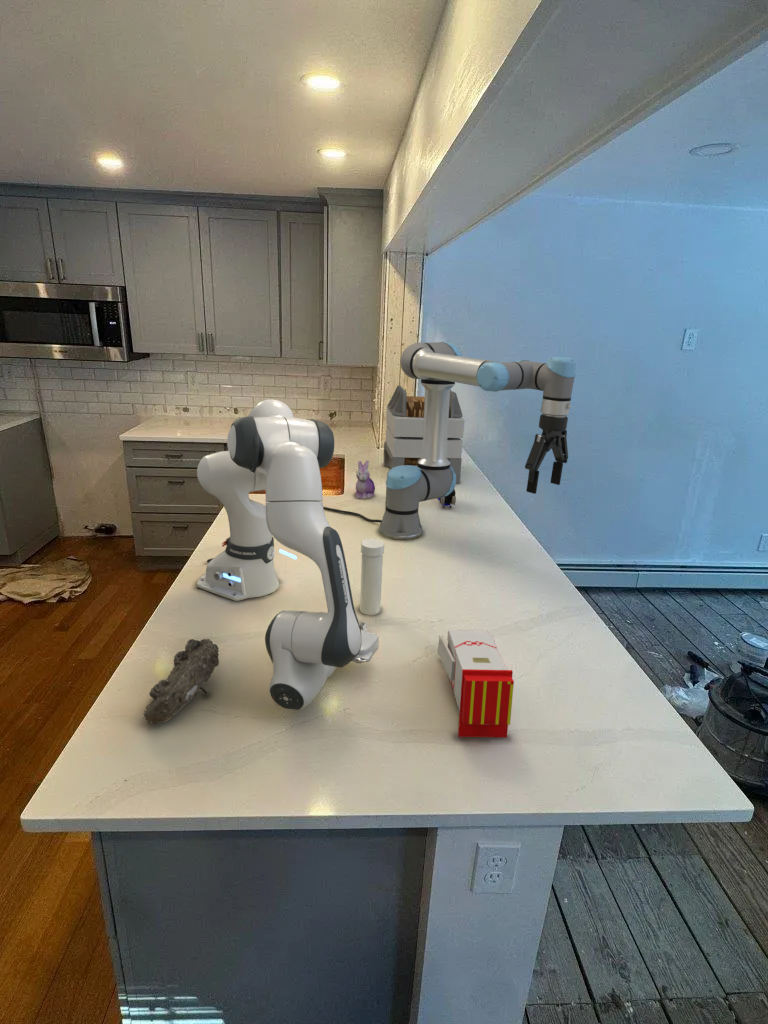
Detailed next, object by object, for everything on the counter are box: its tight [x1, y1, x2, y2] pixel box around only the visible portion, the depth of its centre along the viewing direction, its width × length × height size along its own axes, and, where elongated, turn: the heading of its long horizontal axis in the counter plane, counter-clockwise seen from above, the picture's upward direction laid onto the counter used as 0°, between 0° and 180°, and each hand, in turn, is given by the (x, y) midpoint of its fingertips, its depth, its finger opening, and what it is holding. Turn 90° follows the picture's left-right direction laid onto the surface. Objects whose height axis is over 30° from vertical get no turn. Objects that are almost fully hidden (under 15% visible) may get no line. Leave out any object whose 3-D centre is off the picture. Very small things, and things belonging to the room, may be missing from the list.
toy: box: [437, 628, 515, 738], centre depth 117 cm, size 12×13×30 cm
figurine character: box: [437, 488, 457, 509], centre depth 231 cm, size 7×8×15 cm
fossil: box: [144, 638, 220, 724], centre depth 113 cm, size 22×10×15 cm
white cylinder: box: [360, 538, 385, 557], centre depth 143 cm, size 6×6×2 cm
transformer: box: [383, 384, 465, 484], centre depth 268 cm, size 34×33×41 cm
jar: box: [359, 553, 384, 616], centre depth 146 cm, size 5×5×19 cm
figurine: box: [354, 460, 376, 500], centre depth 236 cm, size 9×10×15 cm
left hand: (345, 621), depth 132 cm, fingers open, 8 cm apart
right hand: (543, 488), depth 164 cm, fingers open, 13 cm apart
